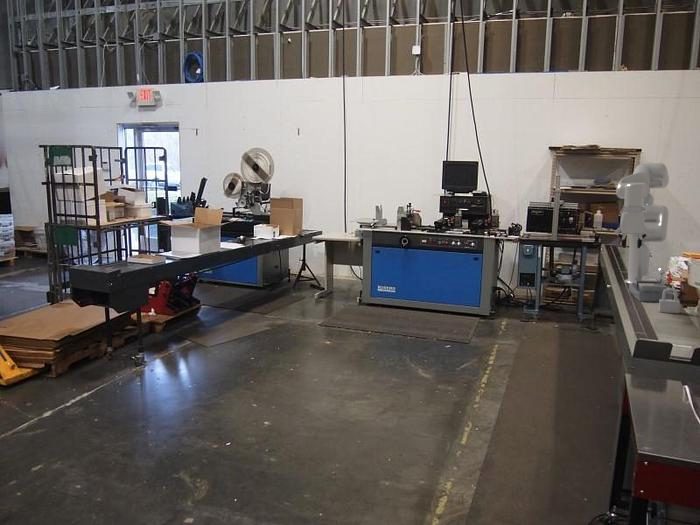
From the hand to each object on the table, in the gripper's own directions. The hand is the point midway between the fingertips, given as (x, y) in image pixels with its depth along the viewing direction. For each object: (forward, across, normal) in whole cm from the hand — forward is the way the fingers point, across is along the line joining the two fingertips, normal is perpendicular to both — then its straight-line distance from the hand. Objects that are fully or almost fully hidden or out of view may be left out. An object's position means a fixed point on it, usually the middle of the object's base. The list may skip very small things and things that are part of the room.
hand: (631, 247), depth 256 cm
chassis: (+23, -8, +4) cm, 24 cm away
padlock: (+23, -9, +36) cm, 44 cm away
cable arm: (+22, -10, -1) cm, 24 cm away
